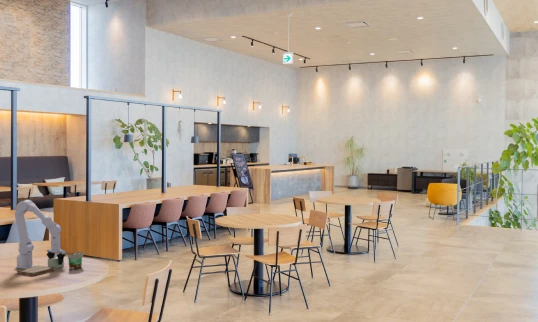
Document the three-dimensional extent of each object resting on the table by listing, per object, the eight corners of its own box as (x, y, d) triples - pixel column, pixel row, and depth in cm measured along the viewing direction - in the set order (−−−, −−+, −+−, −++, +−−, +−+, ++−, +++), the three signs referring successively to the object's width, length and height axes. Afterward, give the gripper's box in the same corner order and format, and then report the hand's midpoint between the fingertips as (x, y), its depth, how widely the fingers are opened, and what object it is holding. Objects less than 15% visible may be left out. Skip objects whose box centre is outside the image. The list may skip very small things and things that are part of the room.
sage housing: (47, 268, 344) (47, 259, 344) (59, 265, 353) (59, 256, 353) (53, 269, 342) (52, 259, 342) (65, 265, 351) (64, 256, 351)
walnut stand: (17, 274, 328) (17, 270, 328) (38, 268, 343) (38, 265, 343) (33, 276, 322) (33, 273, 322) (54, 270, 337) (54, 267, 337)
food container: (76, 270, 336) (76, 255, 336) (67, 270, 337) (67, 254, 337) (87, 266, 348) (86, 251, 348) (78, 266, 349) (78, 251, 349)
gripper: (68, 243, 347) (69, 263, 347) (52, 241, 353) (53, 261, 354) (60, 245, 341) (60, 266, 341) (44, 243, 347) (44, 264, 347)
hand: (56, 264), depth 347 cm, fingers open, 7 cm apart
